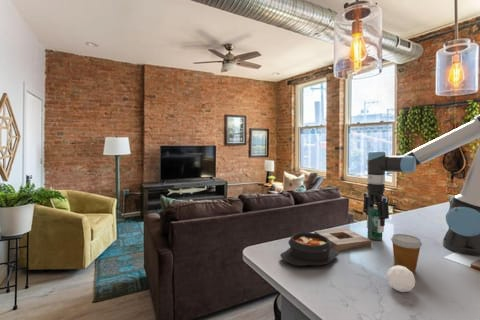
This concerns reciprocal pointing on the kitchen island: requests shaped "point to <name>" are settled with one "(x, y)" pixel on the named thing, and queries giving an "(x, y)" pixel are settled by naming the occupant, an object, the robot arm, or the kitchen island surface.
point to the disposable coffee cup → (406, 250)
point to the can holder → (349, 241)
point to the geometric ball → (400, 278)
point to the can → (373, 223)
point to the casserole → (309, 250)
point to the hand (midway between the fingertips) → (374, 229)
